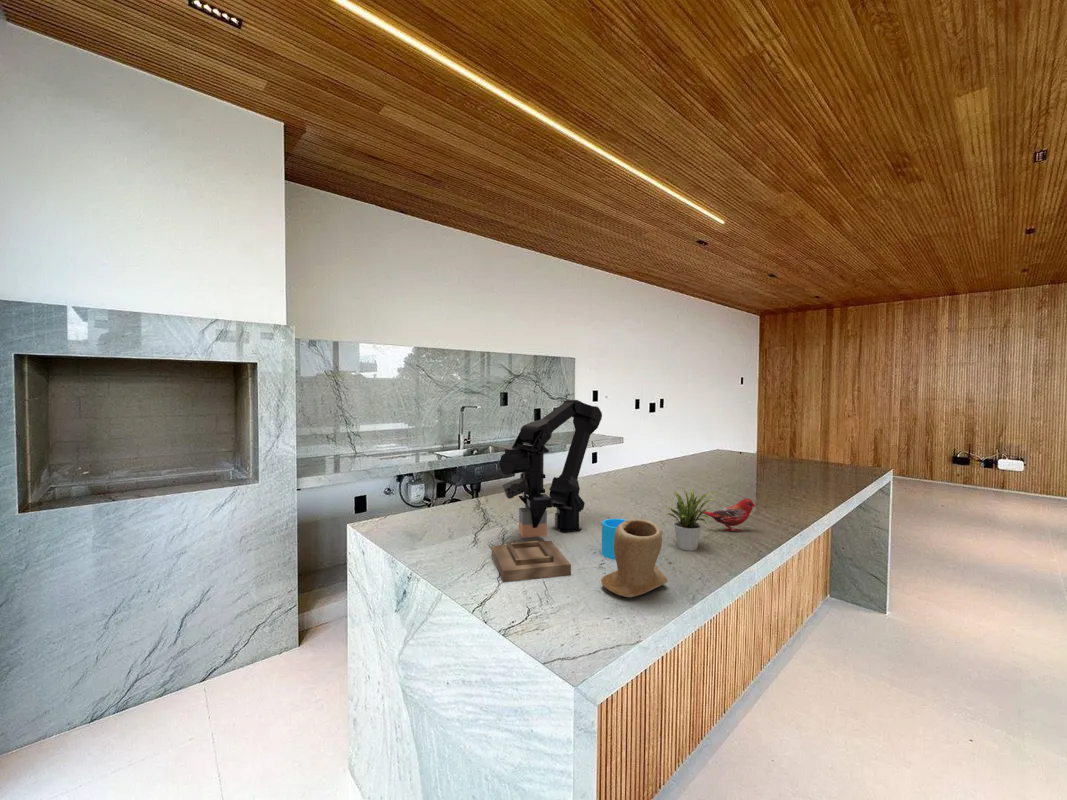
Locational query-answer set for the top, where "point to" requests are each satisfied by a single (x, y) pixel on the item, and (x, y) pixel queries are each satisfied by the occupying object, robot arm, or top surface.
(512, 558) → the walnut cradle stand
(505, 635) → the top surface
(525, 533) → the block
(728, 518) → the decorative bird figurine
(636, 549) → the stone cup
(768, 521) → the top surface
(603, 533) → the mug
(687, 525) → the house plant
